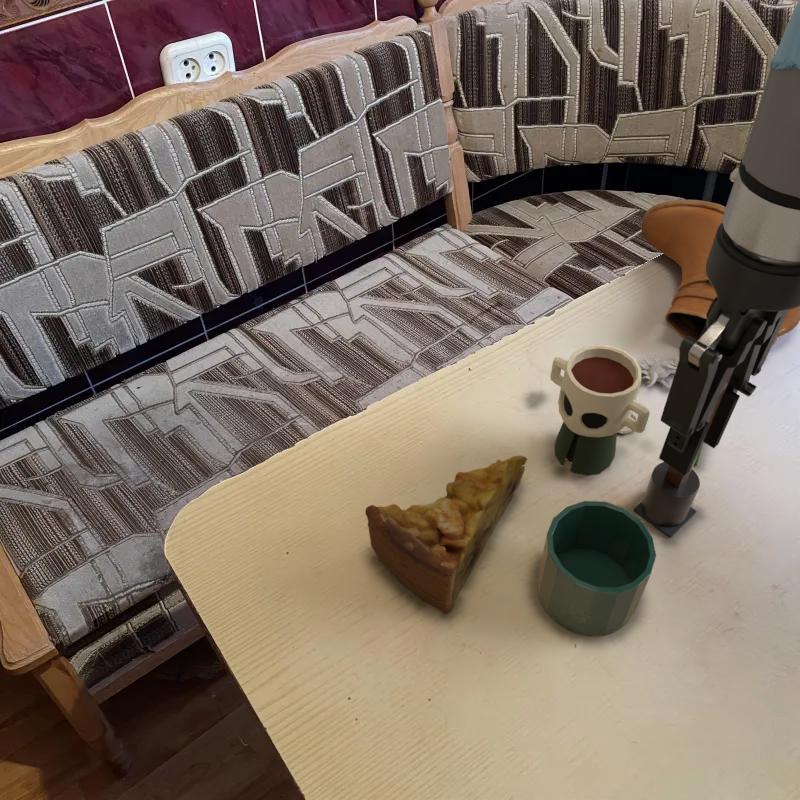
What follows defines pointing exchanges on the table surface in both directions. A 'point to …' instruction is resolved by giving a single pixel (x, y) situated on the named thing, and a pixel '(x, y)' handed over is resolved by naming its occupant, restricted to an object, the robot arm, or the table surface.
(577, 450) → the character mug
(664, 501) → the brown post with base
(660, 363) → the stegosaurus
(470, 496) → the pie slice
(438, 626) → the table surface
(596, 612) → the cup
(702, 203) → the boot
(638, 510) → the mat
